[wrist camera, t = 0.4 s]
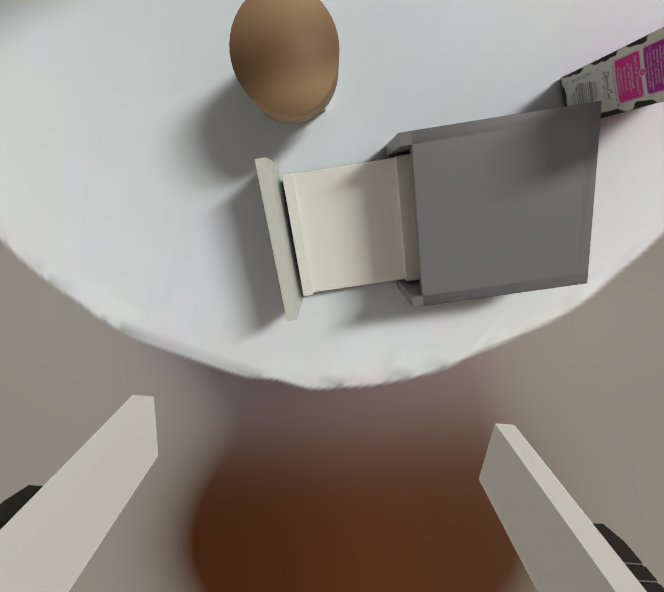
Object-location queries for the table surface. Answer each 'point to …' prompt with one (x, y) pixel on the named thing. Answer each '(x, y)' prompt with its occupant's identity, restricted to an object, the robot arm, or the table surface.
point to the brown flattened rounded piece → (286, 56)
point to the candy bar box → (621, 78)
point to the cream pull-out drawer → (340, 226)
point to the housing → (502, 203)
